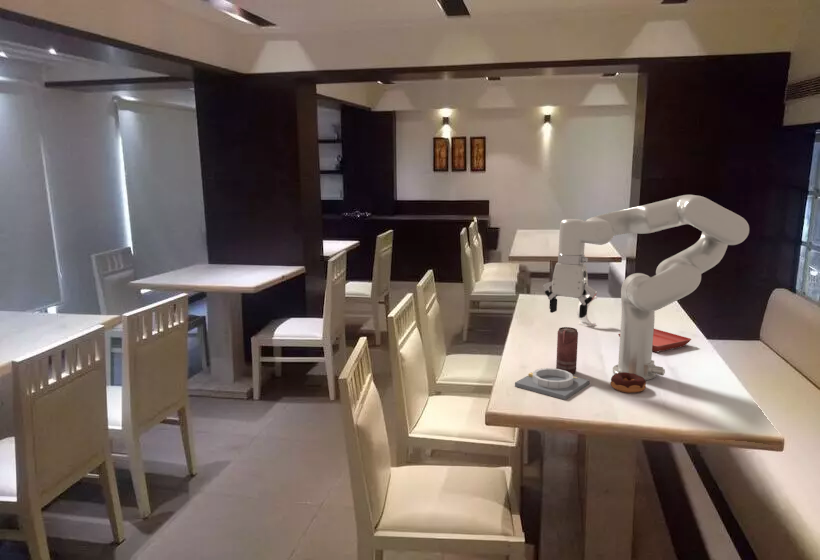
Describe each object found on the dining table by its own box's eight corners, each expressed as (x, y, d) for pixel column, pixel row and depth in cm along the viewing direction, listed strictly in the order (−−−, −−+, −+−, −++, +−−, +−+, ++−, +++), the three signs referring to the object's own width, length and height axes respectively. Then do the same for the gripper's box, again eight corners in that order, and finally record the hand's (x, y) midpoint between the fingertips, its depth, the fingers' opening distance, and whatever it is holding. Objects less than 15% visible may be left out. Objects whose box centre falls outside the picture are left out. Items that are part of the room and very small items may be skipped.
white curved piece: (595, 325, 240) (597, 296, 238) (584, 327, 237) (586, 298, 235) (587, 322, 244) (588, 294, 241) (576, 324, 241) (577, 296, 239)
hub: (589, 383, 176) (589, 373, 175) (565, 399, 164) (565, 388, 163) (541, 372, 186) (541, 362, 185) (514, 386, 174) (515, 376, 173)
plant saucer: (616, 342, 218) (617, 333, 218) (650, 335, 226) (651, 327, 226) (656, 355, 203) (657, 346, 202) (691, 348, 211) (692, 339, 210)
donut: (617, 380, 179) (618, 367, 178) (650, 387, 173) (651, 374, 172) (604, 389, 172) (605, 376, 171) (638, 397, 165) (639, 384, 165)
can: (553, 373, 184) (555, 330, 182) (558, 367, 190) (560, 325, 187) (573, 376, 182) (575, 332, 179) (577, 370, 187) (579, 327, 184)
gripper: (603, 261, 176) (599, 316, 179) (550, 255, 187) (548, 307, 191) (592, 264, 171) (589, 321, 174) (539, 258, 182) (536, 312, 185)
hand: (567, 314), depth 182 cm, fingers open, 9 cm apart
